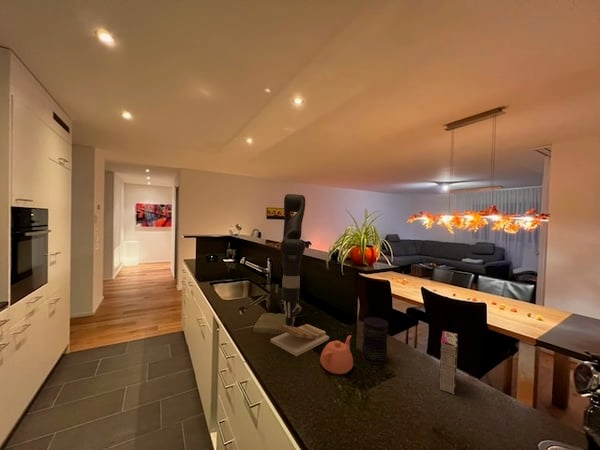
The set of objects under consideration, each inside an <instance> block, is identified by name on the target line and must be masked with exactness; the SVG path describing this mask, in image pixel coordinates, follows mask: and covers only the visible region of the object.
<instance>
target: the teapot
mask: <svg viewBox="0 0 600 450" xmlns="http://www.w3.org/2000/svg"><path fill="white" fill-rule="evenodd" d="M351 338H352V335H351V334H349V335H348V336H347V338H346V340H345V342H342V341H340V340H332V341H330V342H328V343H327V344H326V345H325V346H324V348H323V349H322V351H321V354H320V358H319V359H320V360H319V361H320V364H321V366H322V367H323V368H324V370H326V371H327V372H329V373H331V374H334V375H345V374H347V373H349V372H350V371H351V370H352V368H353V367H354V358H353V357H354V356H353V355H352V352H351V341H350V340H351Z"/></svg>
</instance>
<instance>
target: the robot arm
mask: <svg viewBox="0 0 600 450" xmlns="http://www.w3.org/2000/svg"><path fill="white" fill-rule="evenodd" d="M283 199H284V200H283V212H284V213H283V216H284V217H283V219H284V220H283V235H282V236H283V237H282V238H283V239H282V240H281V242H280V248H279V249H280V252H281V254H282V257H281V258H282V259H281V268H282V269H283V275H282V280H281V281H282V283H281V285H282V286H281V296H282V298H281V300H278V305H279V308H280V310H281V312H282V313H281V314H284V315H285V316H286V325H287V326H291V325H292V324H293V317H294V318H296V317H297V316H298V315H299V313H300V312H301V311H302V310H303V306H302V305H301V306H300V304H299V303H300V302H299V296H300V285H301V284H300V283H301V279H300V277H301V276H300V271H301V262H302V258H303V256H304V254H305V250H306V243H305V241H304V240H303V239H301V237H302V227H303V221H304V216H305V210H306V197H305V196H304V195H303V194H296V193H295V194H294V193H293V194H292V193H288V194H285V196H284V198H283ZM291 213H295V214H294V215H293V216H292V214H291Z"/></svg>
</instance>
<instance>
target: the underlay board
mask: <svg viewBox="0 0 600 450" xmlns="http://www.w3.org/2000/svg"><path fill="white" fill-rule="evenodd" d="M329 340H330V336H329V335H327V334H326V335H324V336H322V337H320V338H318V339H309V338H303V337H296V336H293V335H291V334H289V333H287V332H286V333H284V334H278V335H277V336H274V337H272V338H270V343H271V344H273V345H275V346H277V347H279V348H281V349H283V350H284V351H286V352H288V353H290V354H291V355H293V356H295V357H298V356H300V355H301V354H302V355H303V354H304V353H307V352H308V351H310V350H312V349H314V348H315V347H317V346H319V345H321V344H324V343H325V342H327V341H329Z"/></svg>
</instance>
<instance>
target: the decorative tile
mask: <svg viewBox="0 0 600 450" xmlns="http://www.w3.org/2000/svg"><path fill="white" fill-rule="evenodd" d="M295 318H296V317H293V324H292V325H291V327H294V325H295V321H296V319H295ZM276 324H281V325H286V316H285V314H283V313H273V312H263V313H262V314H261V316H260V317H259V318H258V320H257V321H256V323H255V324H254V326H253V328H252V331H253V333H261V334H270V335H271V334H272V335H273V334H274V335H281V334H284V333H286V332H285V331H282V330H280V329H278V328H276V327H275V326H276ZM286 326H287V325H286Z"/></svg>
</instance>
